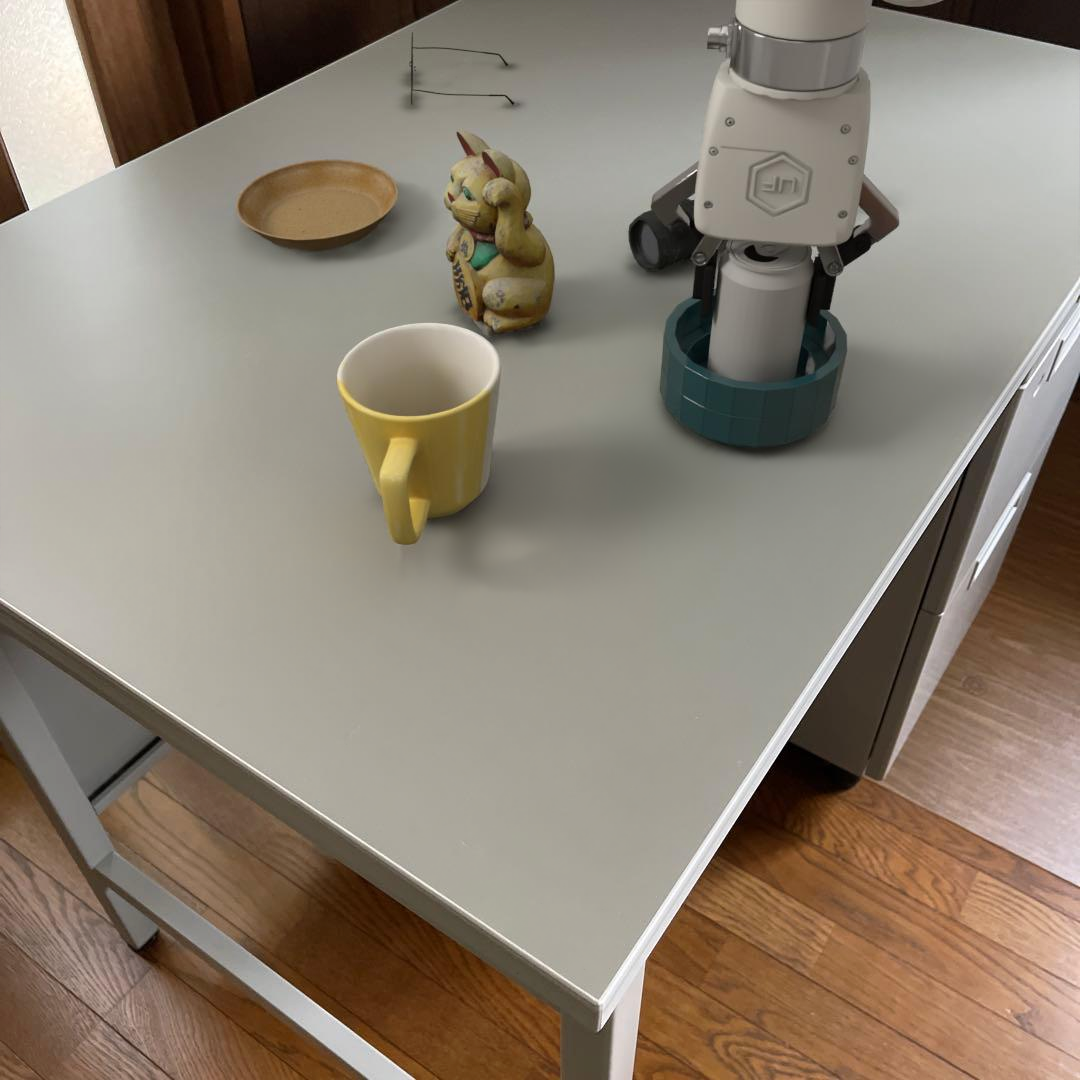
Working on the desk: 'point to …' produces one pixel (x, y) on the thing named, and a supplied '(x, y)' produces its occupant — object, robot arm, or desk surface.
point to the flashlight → (656, 241)
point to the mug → (423, 418)
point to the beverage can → (760, 311)
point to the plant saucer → (317, 203)
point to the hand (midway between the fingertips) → (759, 309)
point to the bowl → (749, 384)
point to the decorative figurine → (496, 242)
